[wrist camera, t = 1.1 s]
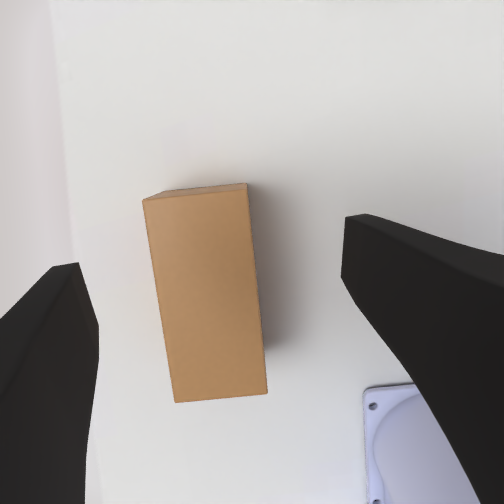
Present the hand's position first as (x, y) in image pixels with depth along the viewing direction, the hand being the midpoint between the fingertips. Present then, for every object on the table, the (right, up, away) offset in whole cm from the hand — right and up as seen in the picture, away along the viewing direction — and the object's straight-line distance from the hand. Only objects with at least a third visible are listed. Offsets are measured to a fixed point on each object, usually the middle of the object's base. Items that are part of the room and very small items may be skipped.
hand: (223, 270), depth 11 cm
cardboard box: (-1, -1, +12) cm, 12 cm away
